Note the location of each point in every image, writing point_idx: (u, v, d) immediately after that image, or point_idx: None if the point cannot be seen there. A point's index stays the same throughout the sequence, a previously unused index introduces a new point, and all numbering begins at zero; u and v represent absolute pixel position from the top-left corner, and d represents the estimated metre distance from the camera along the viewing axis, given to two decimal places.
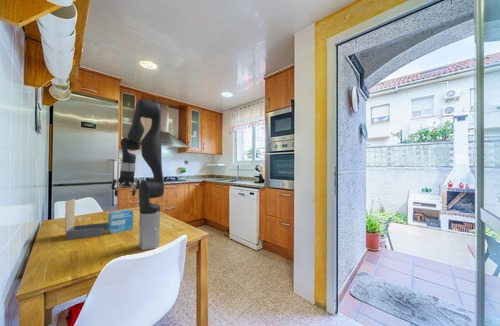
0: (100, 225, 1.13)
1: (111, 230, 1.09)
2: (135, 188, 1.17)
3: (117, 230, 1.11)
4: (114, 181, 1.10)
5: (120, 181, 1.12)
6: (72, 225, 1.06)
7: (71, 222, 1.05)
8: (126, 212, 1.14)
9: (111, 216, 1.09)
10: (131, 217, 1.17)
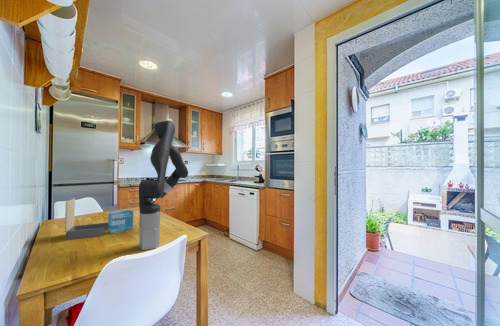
0: (100, 225, 1.13)
1: (111, 230, 1.09)
2: None
3: (117, 230, 1.11)
4: None
5: None
6: (72, 225, 1.06)
7: (71, 222, 1.05)
8: (126, 212, 1.14)
9: (111, 216, 1.09)
10: (131, 217, 1.17)
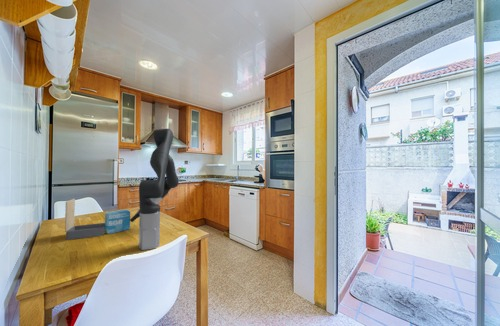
0: (100, 225, 1.13)
1: (108, 230, 1.08)
2: (135, 214, 1.17)
3: (114, 231, 1.10)
4: None
5: None
6: (72, 225, 1.06)
7: (71, 222, 1.05)
8: (123, 212, 1.14)
9: (108, 216, 1.08)
10: (128, 217, 1.16)
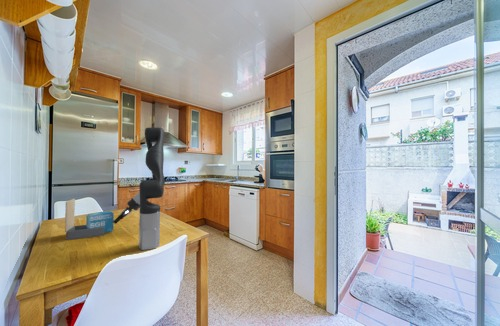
0: None
1: None
2: (119, 215, 1.13)
3: None
4: None
5: None
6: (72, 225, 1.06)
7: (71, 222, 1.05)
8: (106, 214, 1.10)
9: (89, 218, 1.04)
10: (111, 219, 1.12)
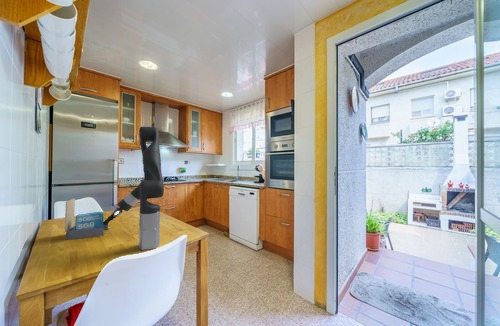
0: None
1: None
2: (109, 216, 1.11)
3: None
4: None
5: None
6: (72, 225, 1.06)
7: (71, 222, 1.05)
8: (95, 214, 1.08)
9: (77, 219, 1.02)
10: (101, 220, 1.10)
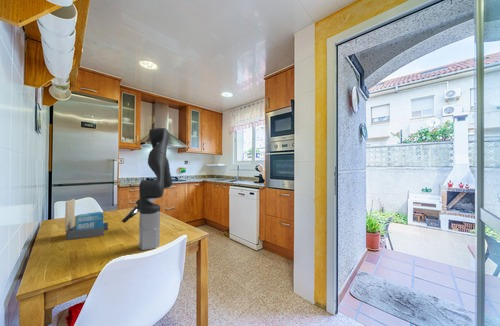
0: None
1: None
2: (128, 214, 1.15)
3: None
4: None
5: None
6: (72, 225, 1.06)
7: (71, 222, 1.05)
8: (95, 215, 1.08)
9: (77, 219, 1.02)
10: (101, 220, 1.10)
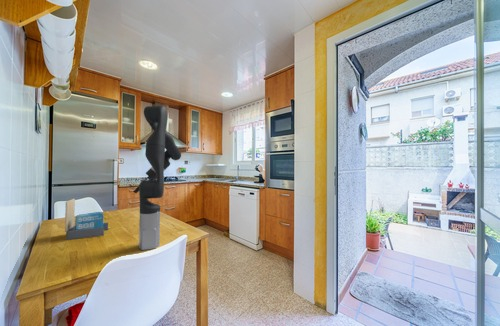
0: None
1: None
2: (139, 185, 1.16)
3: None
4: None
5: None
6: (72, 225, 1.06)
7: (71, 222, 1.05)
8: (95, 215, 1.08)
9: (77, 219, 1.02)
10: (101, 220, 1.10)
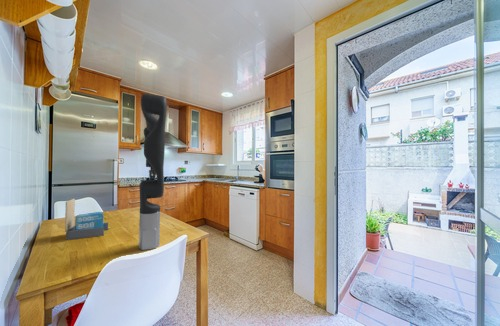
0: None
1: None
2: (150, 179, 1.14)
3: None
4: None
5: None
6: (72, 225, 1.06)
7: (71, 222, 1.05)
8: (95, 215, 1.08)
9: (77, 219, 1.02)
10: (101, 220, 1.10)
